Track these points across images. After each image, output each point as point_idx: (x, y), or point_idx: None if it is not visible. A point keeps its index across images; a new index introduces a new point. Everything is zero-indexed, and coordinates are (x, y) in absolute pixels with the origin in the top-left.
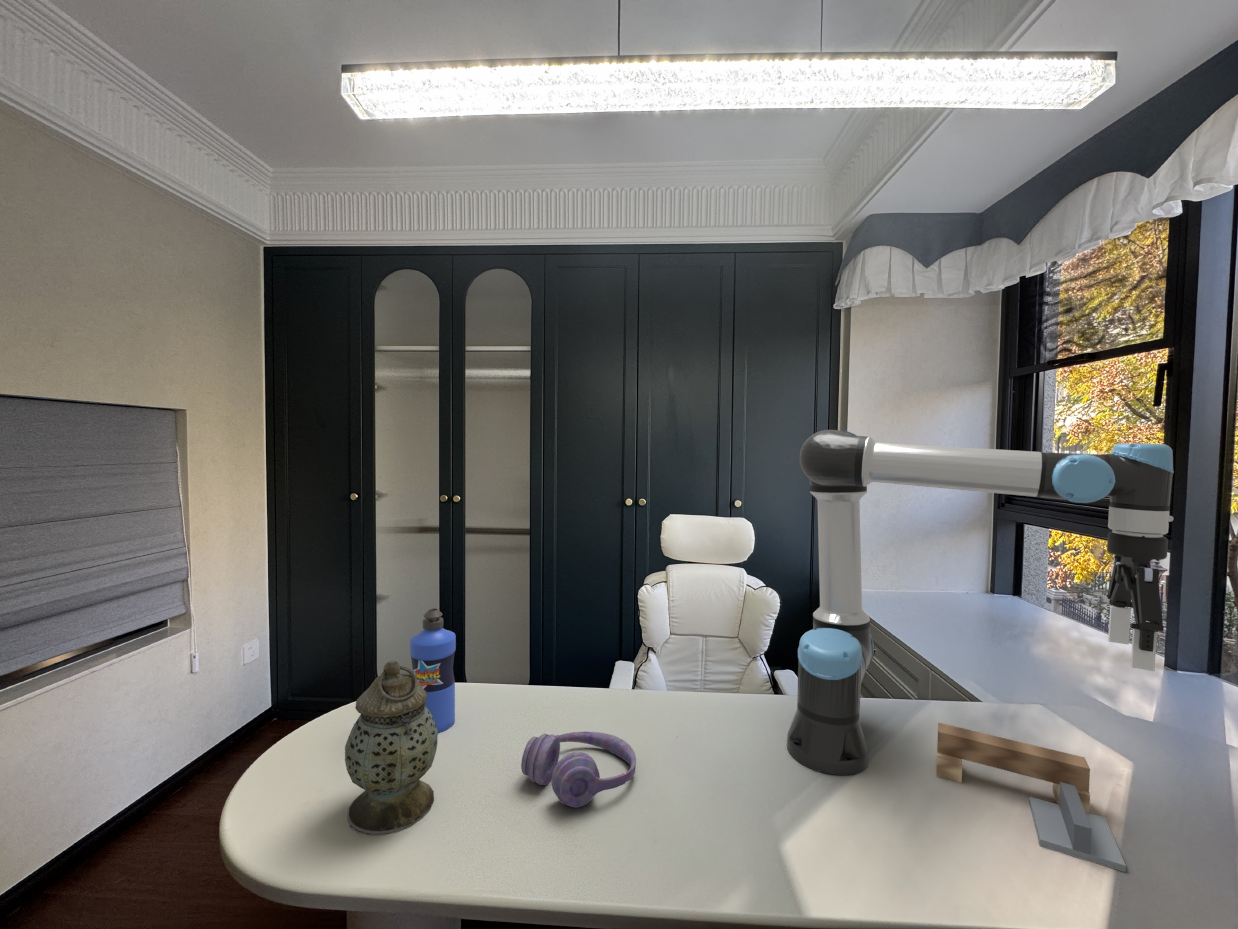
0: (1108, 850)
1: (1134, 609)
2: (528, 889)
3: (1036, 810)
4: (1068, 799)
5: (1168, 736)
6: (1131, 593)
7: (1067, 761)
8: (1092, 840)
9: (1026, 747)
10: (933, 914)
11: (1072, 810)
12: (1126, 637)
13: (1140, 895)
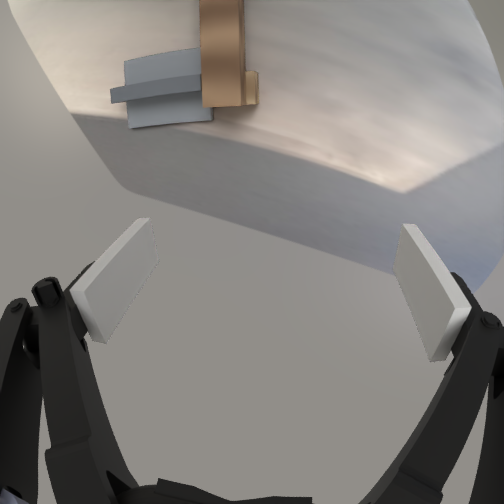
0: (144, 116)
1: (54, 351)
2: None
3: (178, 54)
4: (158, 82)
5: (477, 256)
6: (74, 429)
7: (208, 81)
8: (153, 103)
9: (222, 31)
10: (22, 28)
11: (136, 86)
12: (400, 277)
13: (108, 135)
